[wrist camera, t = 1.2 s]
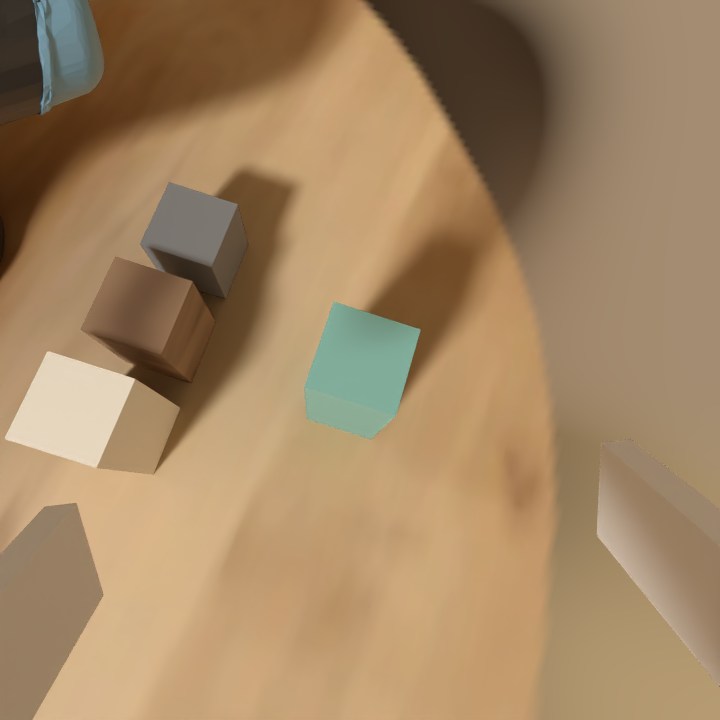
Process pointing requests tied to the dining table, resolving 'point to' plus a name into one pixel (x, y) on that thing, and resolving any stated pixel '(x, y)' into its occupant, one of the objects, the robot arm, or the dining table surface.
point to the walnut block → (151, 319)
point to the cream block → (93, 417)
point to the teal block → (359, 371)
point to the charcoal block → (197, 239)
